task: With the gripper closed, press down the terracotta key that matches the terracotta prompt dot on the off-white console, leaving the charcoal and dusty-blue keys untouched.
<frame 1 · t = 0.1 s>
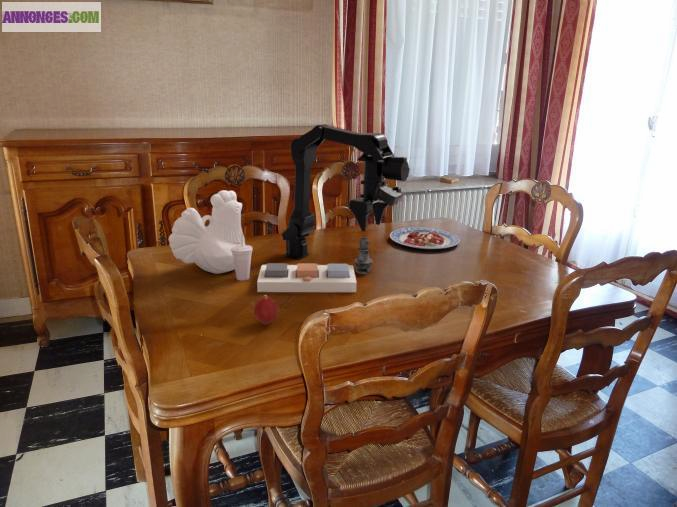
hand: (370, 228, 159), 15 cm above the table, fingers open, 9 cm apart
console: (307, 282, 155), on the table
charcoal key: (276, 271, 154), point 4 cm above the table, slide at 0.0 cm
ceramic plate: (423, 243, 196), on the table
blue key: (337, 271, 154), point 4 cm above the table, slide at 0.0 cm
onion: (266, 325, 129), on the table
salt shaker: (363, 271, 165), on the table
decorative rooster: (208, 271, 163), on the table
smoothie: (242, 278, 157), on the table
terracotta key: (307, 271, 154), point 3 cm above the table, slide at 0.0 cm
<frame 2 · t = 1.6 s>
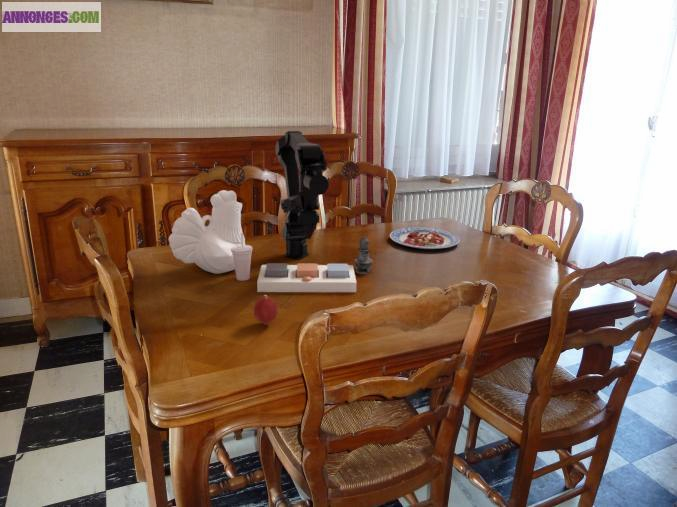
hand: (308, 237, 160), 11 cm above the table, fingers closed
nothing on the table moved.
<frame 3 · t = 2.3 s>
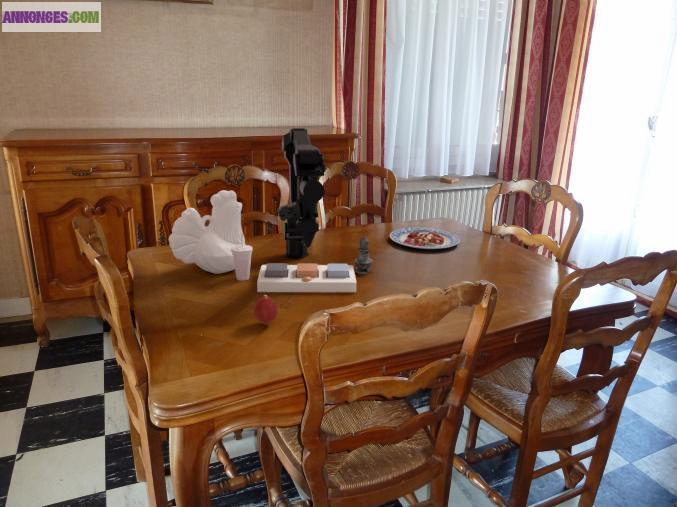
hand: (307, 247, 152), 11 cm above the table, fingers closed
nothing on the table moved.
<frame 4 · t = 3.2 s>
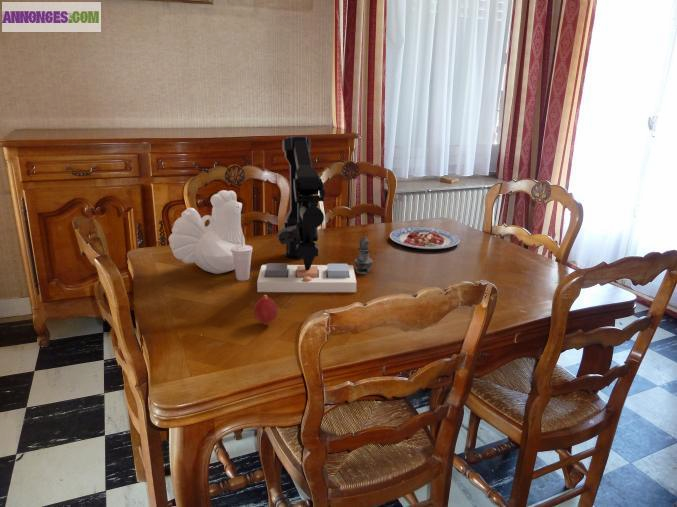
hand: (307, 269, 154), 4 cm above the table, fingers closed, pressing on terracotta key
terracotta key: (307, 274, 154), point 3 cm above the table, slide at 0.8 cm, touching gripper
everything else where it was.
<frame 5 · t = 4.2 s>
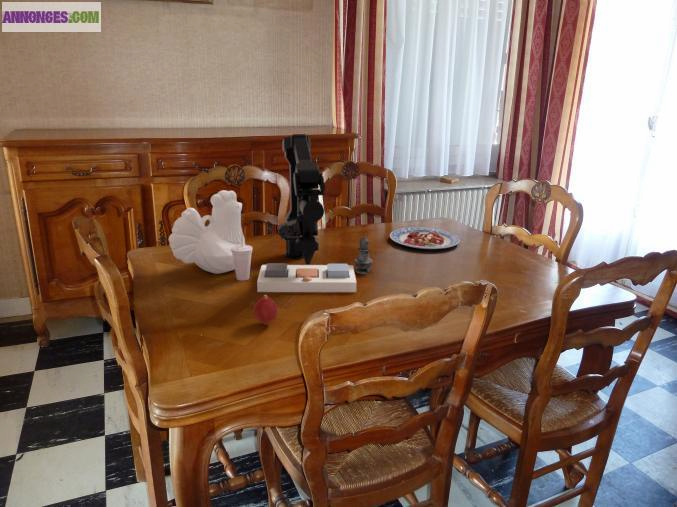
hand: (307, 264, 153), 6 cm above the table, fingers closed
terracotta key: (307, 276, 154), point 2 cm above the table, slide at 1.6 cm
everything else where it was.
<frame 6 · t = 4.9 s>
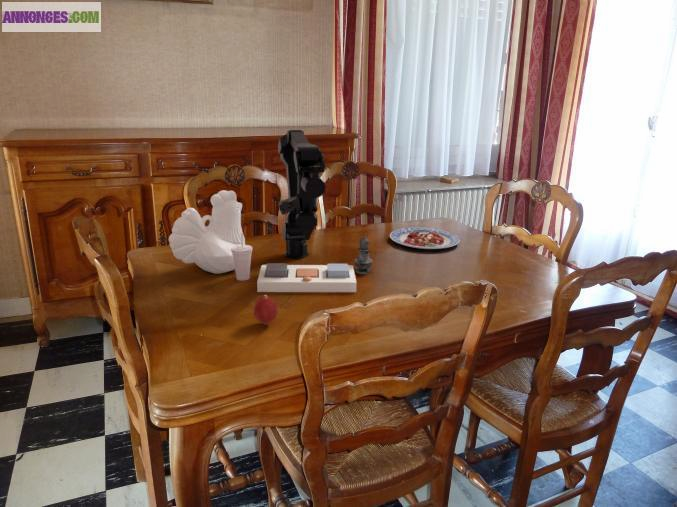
hand: (306, 239, 159), 11 cm above the table, fingers closed
nothing on the table moved.
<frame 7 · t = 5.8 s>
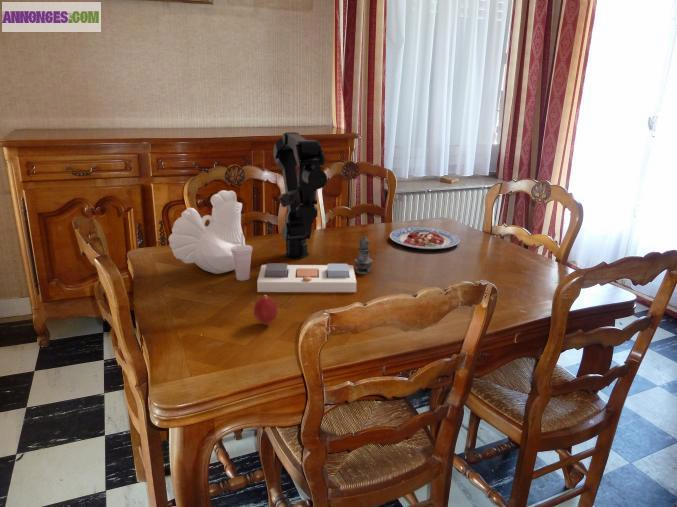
hand: (307, 232, 163), 12 cm above the table, fingers closed
nothing on the table moved.
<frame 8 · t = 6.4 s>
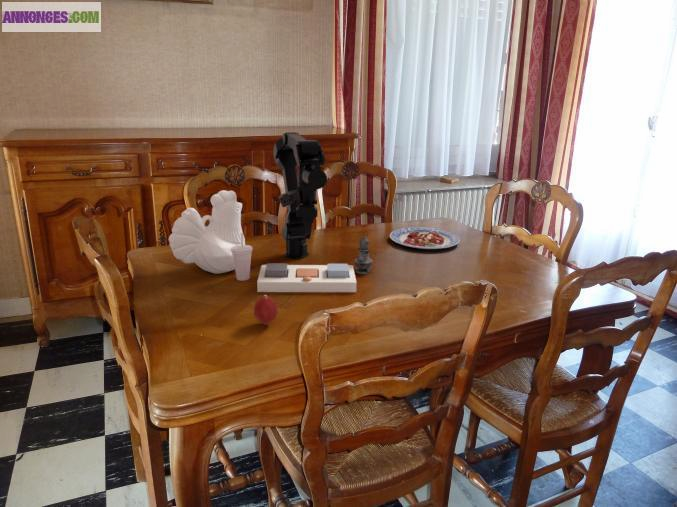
hand: (307, 232, 163), 12 cm above the table, fingers closed
nothing on the table moved.
at the end: terracotta key slide at 1.6 cm; charcoal key slide at 0.0 cm; blue key slide at 0.0 cm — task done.
